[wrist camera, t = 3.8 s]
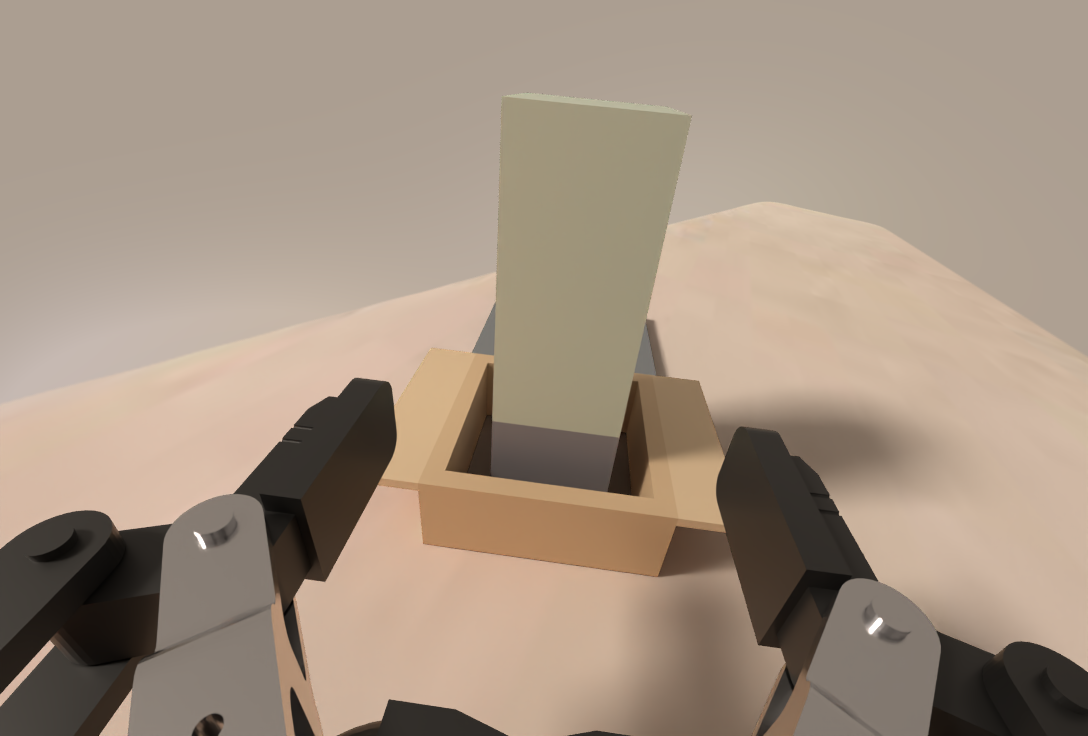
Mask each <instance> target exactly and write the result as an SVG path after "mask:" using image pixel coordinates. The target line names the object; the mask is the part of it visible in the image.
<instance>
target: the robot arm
mask: <svg viewBox="0 0 1088 736" xmlns="http://www.w3.org/2000/svg"><path fill="white" fill-rule="evenodd" d="M396 442H397V429H396V420H395V411H394V403H393V394H392V388H391V385H390V383H389V382H386V381H378V380H370V379H362V378H354V379H353V380H352V381H351V382H350V383H349V384H348V385H347V387H346V388H345V389H344V390H343V391H342V393H341V394H340V395H339V396H338V397H330V396H329V397H327V398H325V399H324V400H322V401H320V402H319V403H317V404H315V405H314V406H312V407H310V408H309V409H308V410H307V411H306V412H305V413H304V414H303V415H302V416H301V418H300V419H299V420H298V421H297V422H296V423H295V424H294V428H291V429H290V430H289V431H288V432H287V433H286V435H285V436H284V437H283V439H282V442H279V443H278V444H277V445H276V446H275V447H274V448H273V449H272V451H271V452H270V453H269V454H268V455H267V456H266V457H265V459H264V460H263V461H262V462H261V463H260V464H259V465H258V467H257V468H256V469H255V470H254V471H253V472H252V473H251V474H250V476H249V477H248V478H247V479H246V480H245V481H244V482H243V484H242V485H241V486H240V487H239V488H238V489H237V490H236V492H235V493H234V494H229V495H223V496H219V497H215V498H212V499H209V500H206V501H204V502H202V503H200V504H198V505H196V506H194V507H192V508H191V509H189V510H188V511H186V512H185V513H183V514H182V515H181V516H180V517H179V518H178V519H177V520H176V521H175V522H174V523H173V524H168V525H160V526H153V527H145V528H137V529H130V530H122V531H118V530H117V529H116V527H115V526H114V524H113V522H112V521H111V519H110V518H109V517H108V516H107V515H106V514H104V513H101V512H98V511H87V510H85V511H75V512H71V513H66V514H62V515H59V516H56V517H53V518H50V519H48V520H45V521H43V522H41V523H39V524H36V525H35V526H33V527H31V528H29V529H27V530H26V531H24V532H22V533H21V534H19V535H18V536H16V537H15V538H14V539H12V540H11V541H10V542H8V543H7V544H6V545H5V546H4V547H2V548H1V549H0V694H1V693H2V692H3V691H4V689H5V688H6V687H7V686H8V685H9V684H10V683H11V682H12V681H13V680H14V678H15V677H16V676H17V675H18V674H19V673H20V672H21V671H22V670H23V669H24V668H25V666H26V665H27V664H28V663H29V662H30V661H31V660H32V659H33V658H34V657H35V655H36V654H37V653H38V652H39V651H40V650H41V649H42V648H43V647H44V646H45V645H46V643H47V642H48V641H49V640H50V641H51V642H52V643H53V644H54V645H55V646H54V647H53V649H52V650H51V651H50V652H49V653H48V654H47V655H46V656H45V657H44V659H43V660H42V661H41V662H40V663H39V664H38V665H37V666H36V668H35V669H34V670H33V671H32V672H31V673H30V674H29V675H28V676H27V678H26V679H25V680H24V681H23V682H22V683H21V684H20V685H19V687H18V688H17V689H16V690H15V691H14V692H13V693H12V694H11V695H10V697H9V698H8V699H7V700H6V701H5V702H4V703H3V704H2V706H1V707H0V736H99V735H100V733H101V732H102V730H103V729H104V727H105V726H106V725H107V723H108V722H109V720H110V719H111V718H112V716H113V715H114V713H115V712H116V710H117V709H118V708H119V706H120V705H121V703H122V702H123V701H124V699H125V698H126V696H127V695H128V693H129V692H130V691H131V689H132V698H131V708H130V718H129V728H128V736H323V731H322V727H321V722H320V718H319V714H318V711H317V707H316V704H315V700H314V696H313V691H312V687H311V681H310V675H309V670H308V664H307V658H306V653H305V647H304V641H303V636H302V630H301V624H300V619H299V613H298V607H297V602H296V598H295V594H296V593H297V591H298V589H299V588H300V586H301V584H302V582H303V581H304V579H309V580H316V581H323V582H325V581H326V579H327V577H328V576H329V574H330V572H331V570H332V568H333V566H334V564H335V563H336V561H337V559H338V557H339V555H340V553H341V552H342V550H343V548H344V546H345V544H346V542H347V540H348V539H349V537H350V535H351V533H352V531H353V529H354V528H355V526H356V524H357V522H358V520H359V518H360V516H361V515H362V513H363V511H364V509H365V507H366V505H367V503H368V502H369V500H370V498H371V496H372V494H373V492H374V491H375V489H376V487H377V485H378V483H379V481H380V479H381V478H382V476H383V474H384V472H385V470H386V468H387V467H388V465H389V463H390V461H391V459H392V457H393V454H394V451H395V447H396ZM829 496H830V495H829V493H828V491H827V489H826V488H825V486H824V484H823V482H822V481H821V479H820V477H819V475H818V474H817V473H816V472H815V471H814V470H813V469H812V468H810V467H809V466H808V465H807V464H806V463H805V462H804V461H803V460H802V459H801V458H800V457H798V456H790V454H789V452H788V450H787V448H786V446H785V444H784V442H783V440H782V438H781V437H780V435H779V433H778V432H776V431H773V430H765V429H757V428H749V427H739V428H738V429H737V430H736V432H735V434H734V436H733V439H732V441H731V444H730V446H729V449H728V451H727V454H726V456H725V459H724V461H723V464H722V466H721V469H720V471H719V474H718V477H717V483H716V498H717V503H718V507H719V510H720V514H721V517H722V521H723V524H724V528H725V531H726V535H727V538H728V542H729V545H730V549H731V552H732V556H733V559H734V563H735V566H736V570H737V573H738V577H739V580H740V584H741V587H742V591H743V594H744V597H745V601H746V604H747V608H748V611H749V615H750V618H751V622H752V625H753V629H754V632H755V636H756V639H757V643H758V645H762V646H769V647H776V648H781V650H782V653H783V656H784V659H785V662H786V663H785V664H784V665H783V667H782V668H781V670H780V672H779V674H778V677H777V679H776V681H775V683H774V686H773V688H772V690H771V692H770V695H769V697H768V699H767V702H766V704H765V706H764V708H763V711H762V713H761V715H760V717H759V720H758V722H757V724H756V726H755V729H754V731H753V733H752V736H1088V672H1087V671H1085V670H1084V669H1083V668H1081V667H1080V666H1078V665H1077V664H1075V663H1074V662H1072V661H1071V660H1069V659H1068V658H1066V657H1064V656H1063V655H1061V654H1059V653H1057V652H1055V651H1053V650H1051V649H1049V648H1046V647H1043V646H1041V645H1038V644H1034V643H1030V642H1022V641H1021V642H1013V643H1011V644H1009V645H1008V646H1006V647H1005V648H1004V649H1003V650H1002V651H1000V652H999V653H998V654H997V655H994V654H991V653H989V652H986V651H984V650H981V649H979V648H977V647H974V646H972V645H969V644H967V643H964V642H962V641H959V640H957V639H954V638H952V637H950V636H947V635H945V634H942V633H940V632H938V631H936V630H935V628H934V627H933V625H932V623H931V622H930V620H929V619H928V618H927V616H926V615H925V614H924V613H923V612H922V611H921V610H920V609H919V608H918V607H917V606H916V605H915V604H914V603H913V602H912V601H911V600H909V599H908V598H907V597H905V596H904V595H903V594H901V593H900V592H898V591H897V590H895V589H893V588H891V587H889V586H887V585H885V584H883V583H880V582H878V580H877V578H876V576H875V575H874V573H873V571H872V569H871V567H870V566H869V564H868V562H867V560H866V559H865V557H864V555H863V553H862V552H861V550H860V548H859V546H858V544H857V543H856V541H855V539H854V537H853V536H852V534H851V532H850V530H849V528H848V527H847V525H846V523H845V521H844V520H843V518H842V516H839V511H838V509H837V507H836V505H835V504H834V502H833V500H832V499H830V498H829ZM337 736H508V735H506V734H504V733H502V732H500V731H498V730H496V729H494V728H492V727H490V726H488V725H486V724H484V723H482V722H480V721H478V720H476V719H474V718H472V717H470V716H468V715H466V714H464V713H462V712H460V711H458V710H456V709H449V708H442V707H436V706H429V705H423V704H416V703H409V702H403V701H396V700H389V701H388V704H387V707H386V710H385V713H384V716H383V719H382V721H377V722H372V723H368V724H365V725H362V726H359V727H356V728H353V729H351V730H348V731H346V732H344V733H342V734H340V735H337ZM569 736H629V735H622V734H615V733H609V732H602V731H592V732H586V733H580V734H575V735H569Z"/></svg>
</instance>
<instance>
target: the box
mask: <svg viewBox="0 0 1088 736" xmlns="http://www.w3.org/2000/svg"><path fill="white" fill-rule="evenodd" d="M691 118H692V116H691V115H689V114H686V113H683V112H680V111H677V110H675V109H672V108H669V107H663V106H653V105H643V104H633V103H623V102H614V101H604V100H594V99H583V98H574V97H564V96H554V95H544V94H533V93H522V94H516V95H509V96H502V106H501V140H500V141H501V142H500V174H499V175H500V176H499V208H498V244H497V276H496V310H495V344H494V378H493V412H492V446H491V477H497V478H504V479H512V480H519V481H527V482H534V483H541V484H549V485H556V486H564V487H571V488H579V489H586V490H593V491H601V492H607V491H608V486H609V482H610V478H611V473H612V469H613V464H614V460H615V455H616V451H617V446H618V442H619V438H620V433H621V429H622V424H623V420H624V415H625V411H626V406H627V402H628V398H629V393H630V389H631V384H632V380H633V375H634V371H635V366H636V362H637V358H638V353H639V349H640V344H641V340H642V335H643V331H644V326H645V322H646V318H647V313H648V309H649V304H650V300H651V295H652V291H653V286H654V282H655V278H656V273H657V269H658V264H659V260H660V255H661V251H662V247H663V242H664V238H665V233H666V229H667V224H668V220H669V215H670V211H671V206H672V202H673V197H674V193H675V189H676V184H677V180H678V175H679V171H680V167H681V162H682V158H683V153H684V149H685V144H686V140H687V135H688V131H689V127H690V122H691Z"/></svg>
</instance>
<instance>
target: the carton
mask: <svg viewBox="0 0 1088 736" xmlns="http://www.w3.org/2000/svg"><path fill="white" fill-rule="evenodd" d="M493 378H494V355H485V354H477V353H469V352H461V351H453V350H445V349H437V348H431V349H430V350H429V352H428V354H427V355H426V357H425V358H424V360H423V362H422V363H421V365H420V366H419V368H418V369H417V371H416V373H415V374H414V376H413V377H412V379H411V381H410V382H409V384H408V385H407V387H406V389H405V390H404V392H403V393H402V395H401V397H400V398H399V400H398V401H397V403H396V404H395V406H394V411H395V420H396V429H397V442H396V447H395V451H394V454H393V457H392V459H391V461H390V463H389V465H388V467H387V468H386V470H385V472H384V474H383V476H382V478H381V479H380V481H379V483H378V485H380V486H388V487H395V488H402V489H409V490H417V491H418V492H419V503H420V515H421V526H422V537H423V544H430V545H437V546H444V547H451V548H458V549H465V550H472V551H479V552H486V553H493V554H501V555H508V556H515V557H522V558H529V559H536V560H543V561H550V562H557V563H564V564H571V565H578V566H585V567H592V568H599V569H606V570H614V571H621V572H628V573H635V574H642V575H649V576H656V577H658V575H659V572H660V569H661V566H662V563H663V561H664V558H665V555H666V552H667V550H668V547H669V544H670V541H671V538H672V536H673V533H674V530H675V527H676V526H680V527H687V528H694V529H702V530H709V531H716V532H724V533H726V531H725V528H724V524H723V521H722V517H721V514H720V510H719V507H718V503H717V498H716V483H717V477H718V474H719V471H720V469H721V466H722V464H723V461H724V459H725V457H724V454H723V451H722V448H721V445H720V442H719V439H718V436H717V433H716V430H715V427H714V424H713V421H712V418H711V415H710V412H709V409H708V406H707V403H706V400H705V398H704V395H703V392H702V389H701V386H700V383H699V381H695V380H687V379H679V378H671V377H663V376H655V375H647V374H639V373H634V375H633V380H632V384H631V389H630V393H629V398H628V402H627V406H626V411H625V415H624V420H623V424H622V429H621V432H625V433H626V434H627V446H628V459H629V471H630V483H631V496H630V495H623V494H616V493H608V492H601V491H593V490H586V489H579V488H571V487H564V486H556V485H549V484H541V483H534V482H527V481H519V480H512V479H504V478H497V477H489V476H482V475H475V474H467V471H468V468H469V465H470V462H471V459H472V456H473V453H474V450H475V447H476V445H477V442H478V439H479V436H480V433H481V430H482V427H483V424H484V421H485V418H486V415H492V412H493Z"/></svg>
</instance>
